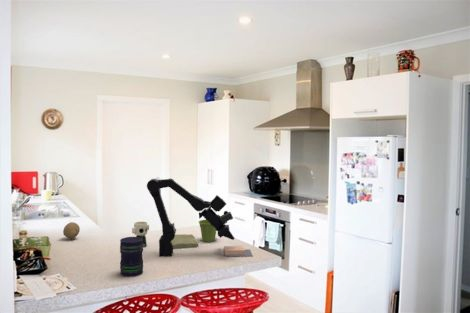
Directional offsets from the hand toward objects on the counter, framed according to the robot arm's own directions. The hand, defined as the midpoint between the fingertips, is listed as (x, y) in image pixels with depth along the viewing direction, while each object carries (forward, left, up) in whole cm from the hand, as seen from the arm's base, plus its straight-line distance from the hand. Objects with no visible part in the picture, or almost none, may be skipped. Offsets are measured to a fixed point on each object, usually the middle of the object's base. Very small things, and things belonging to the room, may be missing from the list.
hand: (233, 239), depth 205 cm
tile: (-5, 0, -6) cm, 8 cm away
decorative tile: (-27, +24, -8) cm, 37 cm away
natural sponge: (-88, +43, -8) cm, 98 cm away
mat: (+3, 0, -8) cm, 8 cm away
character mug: (-48, +22, -8) cm, 53 cm away
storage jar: (-50, -21, -8) cm, 55 cm away
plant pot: (-10, +28, -8) cm, 30 cm away
